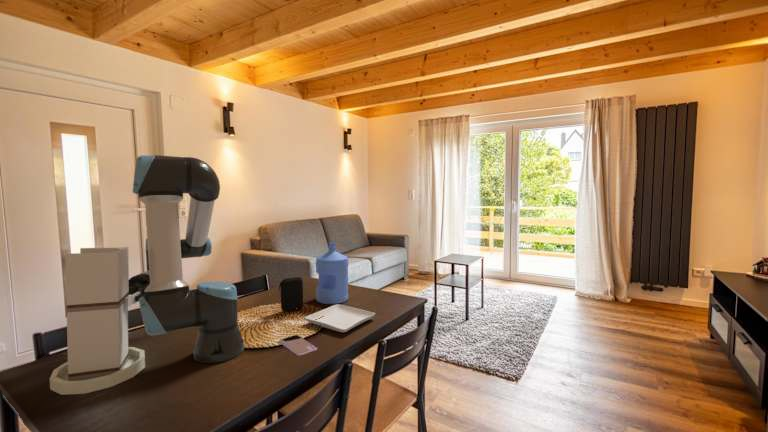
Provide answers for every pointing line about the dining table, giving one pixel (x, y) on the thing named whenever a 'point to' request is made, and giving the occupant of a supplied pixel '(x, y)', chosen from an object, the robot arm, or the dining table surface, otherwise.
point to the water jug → (332, 277)
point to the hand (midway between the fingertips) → (101, 303)
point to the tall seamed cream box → (97, 311)
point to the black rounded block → (291, 294)
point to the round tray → (83, 386)
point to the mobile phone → (297, 345)
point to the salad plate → (340, 317)
